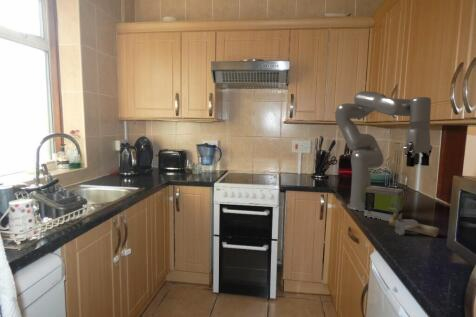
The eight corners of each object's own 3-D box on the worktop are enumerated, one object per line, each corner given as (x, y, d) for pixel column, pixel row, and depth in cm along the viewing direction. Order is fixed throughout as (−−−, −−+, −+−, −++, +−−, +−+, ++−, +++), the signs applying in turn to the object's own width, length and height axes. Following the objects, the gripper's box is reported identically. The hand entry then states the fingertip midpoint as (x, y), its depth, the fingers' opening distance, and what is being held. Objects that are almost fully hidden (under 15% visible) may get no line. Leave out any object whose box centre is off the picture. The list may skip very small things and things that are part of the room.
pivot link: (387, 225, 131) (388, 213, 130) (391, 223, 134) (392, 210, 134) (435, 237, 117) (436, 223, 117) (438, 234, 121) (439, 220, 120)
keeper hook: (394, 232, 123) (395, 219, 122) (411, 232, 123) (413, 219, 123) (399, 235, 120) (400, 221, 119) (416, 234, 121) (417, 221, 120)
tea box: (402, 218, 141) (404, 189, 140) (396, 223, 134) (399, 192, 132) (370, 212, 151) (371, 184, 150) (363, 216, 144) (365, 187, 142)
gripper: (423, 127, 131) (422, 164, 132) (397, 126, 124) (396, 166, 125) (441, 126, 124) (439, 165, 126) (414, 126, 117) (412, 167, 119)
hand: (417, 166), depth 125 cm, fingers open, 9 cm apart
